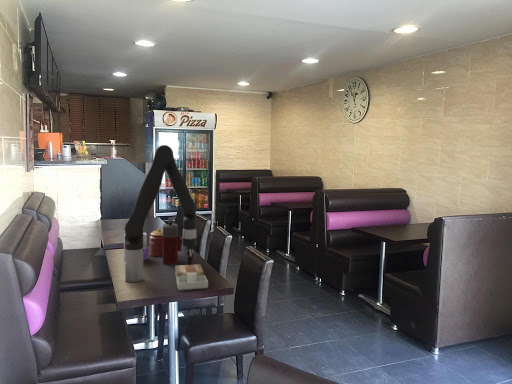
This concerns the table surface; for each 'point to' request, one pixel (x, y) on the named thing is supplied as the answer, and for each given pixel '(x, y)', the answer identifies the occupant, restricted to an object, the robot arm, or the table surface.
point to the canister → (156, 243)
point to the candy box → (143, 246)
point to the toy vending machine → (171, 243)
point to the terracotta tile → (190, 268)
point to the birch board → (181, 272)
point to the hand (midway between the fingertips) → (189, 267)
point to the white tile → (191, 277)
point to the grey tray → (192, 283)
